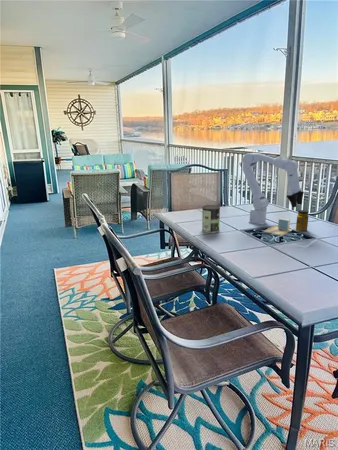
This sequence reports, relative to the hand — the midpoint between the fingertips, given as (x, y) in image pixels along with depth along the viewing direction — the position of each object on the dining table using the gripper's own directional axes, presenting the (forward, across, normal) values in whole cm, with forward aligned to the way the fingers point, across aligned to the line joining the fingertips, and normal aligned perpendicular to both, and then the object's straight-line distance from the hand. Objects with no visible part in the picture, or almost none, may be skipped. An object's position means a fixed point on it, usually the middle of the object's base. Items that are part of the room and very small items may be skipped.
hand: (297, 205), depth 184 cm
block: (+12, -6, +8) cm, 15 cm away
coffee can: (+5, -32, +39) cm, 51 cm away
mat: (+12, -10, +9) cm, 18 cm away
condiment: (+15, 0, -1) cm, 15 cm away
